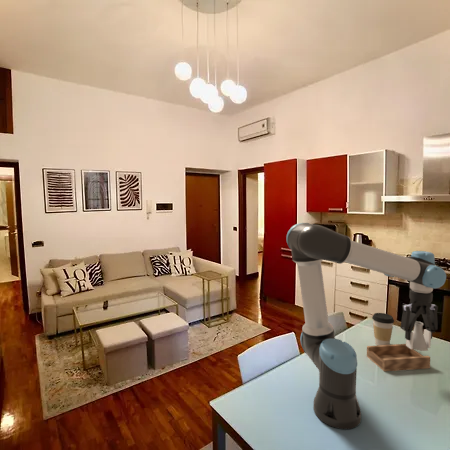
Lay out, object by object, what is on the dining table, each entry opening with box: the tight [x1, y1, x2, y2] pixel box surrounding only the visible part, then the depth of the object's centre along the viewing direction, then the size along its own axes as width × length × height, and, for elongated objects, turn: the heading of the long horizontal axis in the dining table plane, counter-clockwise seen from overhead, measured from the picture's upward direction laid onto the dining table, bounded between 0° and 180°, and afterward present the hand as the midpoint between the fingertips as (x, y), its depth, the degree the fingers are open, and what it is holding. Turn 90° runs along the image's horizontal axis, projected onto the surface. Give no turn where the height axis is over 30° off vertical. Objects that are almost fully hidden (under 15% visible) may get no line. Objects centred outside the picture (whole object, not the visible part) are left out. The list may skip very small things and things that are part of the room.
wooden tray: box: [366, 343, 431, 372], centre depth 129 cm, size 21×12×5 cm, turn 96°
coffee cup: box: [371, 312, 395, 346], centre depth 145 cm, size 10×10×15 cm
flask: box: [412, 320, 429, 352], centre depth 114 cm, size 7×7×10 cm
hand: (418, 346), depth 114 cm, fingers closed on flask, 7 cm apart
